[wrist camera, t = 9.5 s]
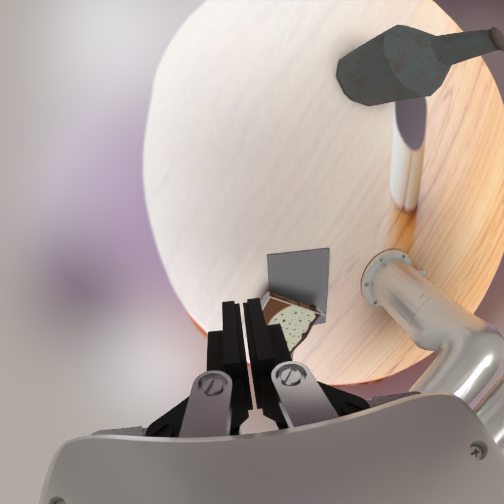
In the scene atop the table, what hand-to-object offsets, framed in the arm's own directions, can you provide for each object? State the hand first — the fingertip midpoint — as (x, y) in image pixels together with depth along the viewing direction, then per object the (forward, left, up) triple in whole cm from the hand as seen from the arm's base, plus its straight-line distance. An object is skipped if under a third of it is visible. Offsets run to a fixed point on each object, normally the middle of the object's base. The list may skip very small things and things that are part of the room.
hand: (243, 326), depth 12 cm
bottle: (-24, -20, -32) cm, 45 cm away
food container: (-3, +19, -30) cm, 36 cm away
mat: (-11, +18, -32) cm, 38 cm away
